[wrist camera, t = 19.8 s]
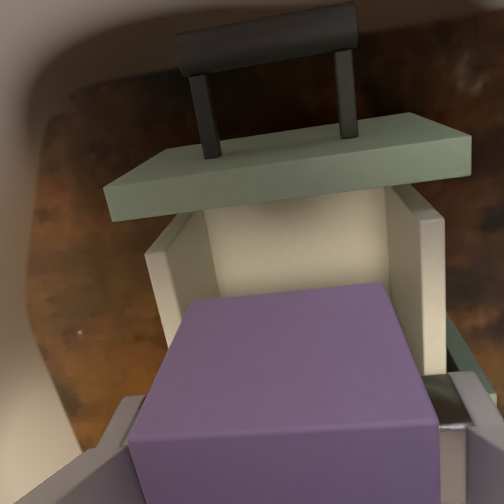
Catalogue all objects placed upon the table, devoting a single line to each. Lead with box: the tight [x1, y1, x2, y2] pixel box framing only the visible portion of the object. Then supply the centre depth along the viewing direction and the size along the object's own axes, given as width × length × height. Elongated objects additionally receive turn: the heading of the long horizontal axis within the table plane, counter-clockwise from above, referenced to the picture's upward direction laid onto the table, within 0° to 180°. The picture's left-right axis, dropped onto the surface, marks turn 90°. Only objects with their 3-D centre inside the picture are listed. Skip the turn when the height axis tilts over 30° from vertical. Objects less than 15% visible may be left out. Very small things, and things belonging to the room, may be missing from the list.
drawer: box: [103, 1, 472, 376], centre depth 19 cm, size 18×11×8 cm, turn 9°
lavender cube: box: [127, 282, 441, 504], centre depth 9 cm, size 4×4×4 cm
